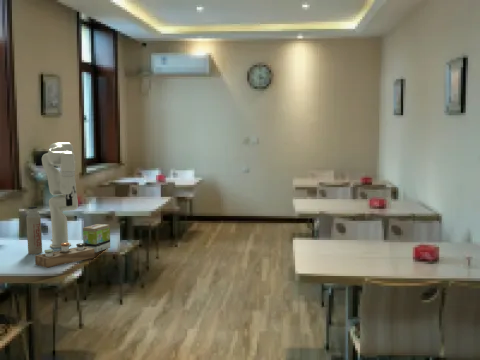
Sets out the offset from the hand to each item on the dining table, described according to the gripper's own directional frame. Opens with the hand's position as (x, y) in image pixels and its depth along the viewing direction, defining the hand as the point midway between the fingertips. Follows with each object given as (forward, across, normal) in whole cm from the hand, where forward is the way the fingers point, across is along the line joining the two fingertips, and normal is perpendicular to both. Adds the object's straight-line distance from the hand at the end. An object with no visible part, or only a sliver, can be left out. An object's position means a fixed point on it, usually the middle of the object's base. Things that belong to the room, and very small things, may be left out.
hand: (69, 205), depth 325 cm
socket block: (+29, +8, -9) cm, 32 cm away
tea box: (+30, -2, +19) cm, 36 cm away
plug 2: (+29, +8, +1) cm, 30 cm away
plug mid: (+27, +8, -9) cm, 29 cm away
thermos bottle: (+31, -25, -9) cm, 41 cm away
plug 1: (+29, +8, -19) cm, 35 cm away
